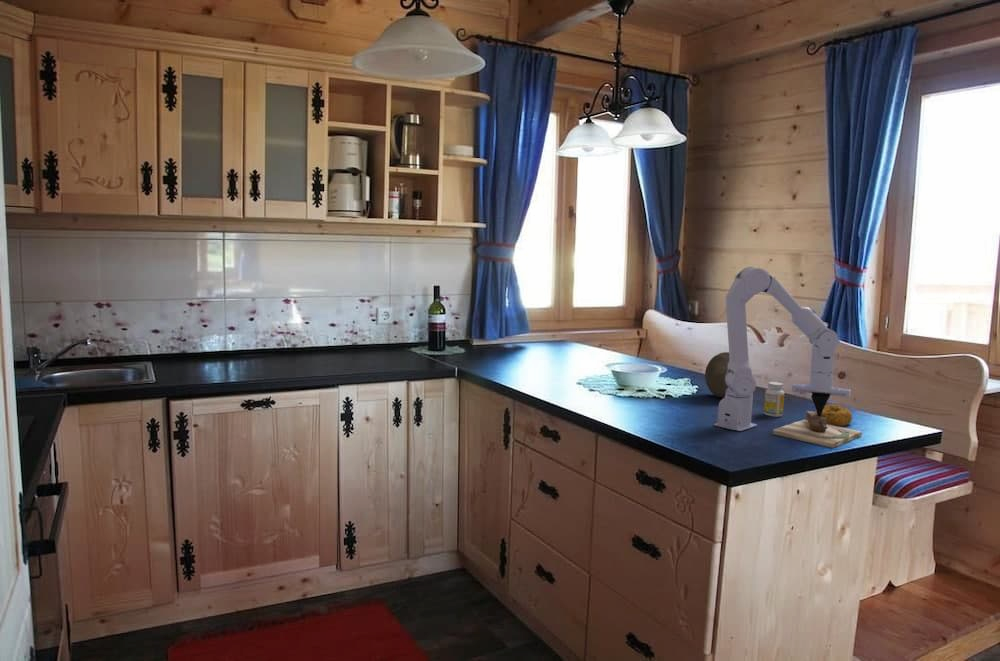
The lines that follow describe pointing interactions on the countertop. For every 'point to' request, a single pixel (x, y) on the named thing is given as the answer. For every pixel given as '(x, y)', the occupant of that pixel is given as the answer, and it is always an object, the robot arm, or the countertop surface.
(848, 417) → the bagel
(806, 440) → the board
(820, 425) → the brown elongated piece
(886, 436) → the countertop surface
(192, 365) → the countertop surface
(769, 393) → the supplement bottle
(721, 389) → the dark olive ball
